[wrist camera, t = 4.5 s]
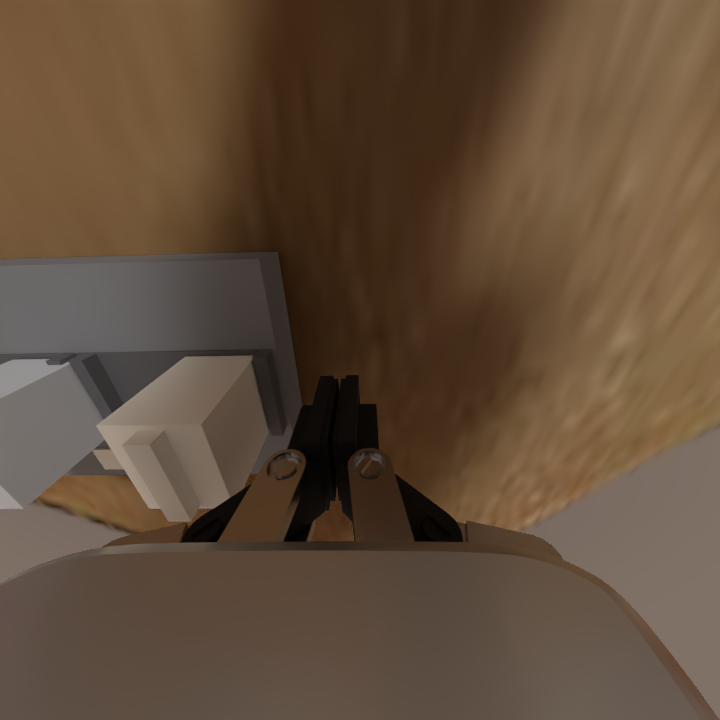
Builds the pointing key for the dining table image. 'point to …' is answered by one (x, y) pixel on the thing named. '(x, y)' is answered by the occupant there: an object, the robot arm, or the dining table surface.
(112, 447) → the slider ivory
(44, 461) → the slider grey
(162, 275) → the switch unit
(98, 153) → the dining table surface
